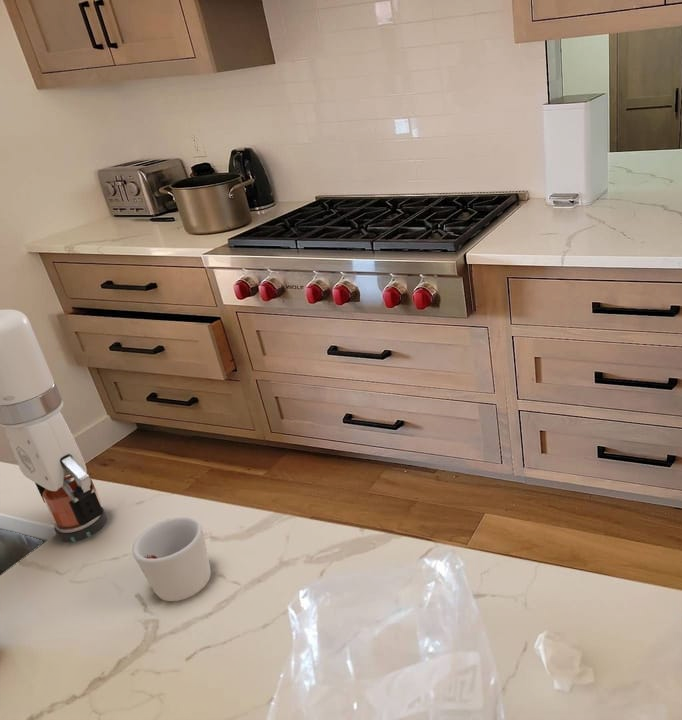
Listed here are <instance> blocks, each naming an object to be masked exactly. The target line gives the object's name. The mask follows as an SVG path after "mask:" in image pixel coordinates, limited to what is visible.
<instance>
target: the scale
mask: <svg viewBox="0 0 682 720" xmlns="http://www.w3.org/2000/svg"><path fill="white" fill-rule="evenodd" d="M101 508H102V510H103V513H102V514H101V515H100V516H98V517H97V518H95V519H93V520H92V521H90V522H88V523H86V524H85V525H83V526H82V525H77V526H73V527H64V526H60V525H57V524H56V523H55V522H54V532H55V534H56V536H57V537H58V539H59V540H60V541H61V542H64V543H75V542H79V541H83V540H85V539H87V538H90V537H92V536H94V535H95V534H97V533H98V532H100V530H102V529H103V527H105V526H106V524H107V522H108V516H107V514H106V512H105V508H103V506H101Z"/></svg>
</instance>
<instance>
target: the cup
mask: <svg viewBox="0 0 682 720" xmlns="http://www.w3.org/2000/svg"><path fill="white" fill-rule="evenodd" d="M132 555H133V558H134V560H135V562H136V563H137V565H138V566H139V568H140V571H141V572H142V573H143V575H144V577H145V578H146V580H147V582H148V583H149V585H150V587H151V589H152V590H153V592H154V593H155V594H156V596H157V597H158V598H159V599H161V600H162V601H165V602H179V601H183V600H186V599H188V598H190V597H192V596H194V595H196V594H197V593H199V592H200V591H201V590H203V588H204V587H205V586H207V584H208V583H209V581H210V578H211V563H210V560H209V554H208V549H207V545H206V541H205V535H204V530H203V526H202V525H201V523H200V522H199V521H198V520H196V519H195V518H192V517H187V516H182V517H181V516H177V517H171V518H168V519H164V520H162V521H160V522H157V523H156V524H154V525H153V524H152V526H150V527H148V528H147V529H146V530H144V531H143V532H142V533H141V534H140V535H139V536H138V537H137V538H136V540H135V542H134V544H133V546H132Z"/></svg>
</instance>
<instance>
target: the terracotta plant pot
mask: <svg viewBox="0 0 682 720" xmlns="http://www.w3.org/2000/svg"><path fill="white" fill-rule="evenodd" d="M71 477H72V476H71V475H70V474H69V475H67V476H66V477H64V481H65V480H67V479H69V478H71ZM90 480H91V482H92V484H93V488H94V490H95V494H96V496H97V498H98V501H99V503H100V506H101V507H102V501H101V499H100V496H99V493H98V492H97V489H96V487H95V484H94V482H93V479H92V477H90ZM69 486H70V487H71V489H72V490H73V491H75V488H76V487H77V486H78V485H77V483H76V482H74V483H72V484H70V485H69ZM42 497H43V499H44V501H45V503H44V504H45V505H46V507H47V509H48V511H49V514H50V515H51V518H52V520H53V522H54V524H55V523H56V524H57V525H60V526H64V527H73V526H77V525H80V524H78V522H77V519H76V517H75V515H74V513H73V510H72V508H71V506H70V504H69V502H70V501H71V499H70V498H69V496H68V495H67V494H66V492H65V491H64V490H63V488H62V487H61V488H59V489H58V490H57V491H50V490H47V489H45V490H44V491H43V495H42ZM42 497H41V498H42ZM43 499H42V500H43ZM44 501H43V502H44Z"/></svg>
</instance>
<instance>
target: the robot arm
mask: <svg viewBox="0 0 682 720" xmlns="http://www.w3.org/2000/svg"><path fill="white" fill-rule="evenodd" d="M36 336H37V335H36V334H35V331H34V329H33V327H32V324H31V322H30V319H29V318H28V317H27V315H26V314H24V312H22V311H20V310H17V309H11V308H10V309H0V427H1V428H3V429H4V430H3V431H4V433H5V436H6V438H7V441H8V443H9V446H10V448H11V451H12V453H13V455H14V458H15V461H16V463H17V465H18V468H19V471H20V472H21V473H22V474H23V476H25V477H26V478H27V479H29V480H30V481H32V482H34V484H35V486H36V488H37V491H38V493H39V494H40V497H41V499H42V501H43V503H44V504H46V503H45V501H44V499H43V497H42V495H43V491H44V490H45V489H47V490H50V491H57V490H58V489H59V488H61V487H62V488H63V490H64V491H65V492H66V494H67V495H68V496H69V498H70V499H71V501H70V502H69V504H70V506H71V508H72V510H73V513H74V515H75V517H76V519H77V522H78V524H80V525H82V526H83V525H85V524H86V523H88V522H90V521H92V520H93V519H95V518H97V517H98V516H100V515H101V514H102V513H103V510H102V508H103V507H102V505H101V506H100V503H99V501H98V498H97V496H96V494H95V490H94V488H93V484H94V483H93V484H92V482H93V481H92V482H91V480H92V479H91V480H90V475H89V473H88V469H87V465H86V463H85V460H84V457H83V455H82V452H81V450H80V448H79V445H78V443H77V442H76V439H75V437H74V435H73V433H72V431H71V430H70V428H69V425H68V423H67V422H66V420H65V418H64V416H63V414H62V412H61V410H62V408H63V407H64V401H63V399H62V396H61V394H60V392H59V389H58V386H57V384H56V382H55V380H54V377H53V374H52V372H51V370H50V368H49V365H48V363H47V360H46V358H45V355H44V353H43V351H42V347H41V346H40V343H39V341H38V339H37V337H36ZM69 475H71V476H72V477H71V478H69V479H67V480H65V481H64V477H66V476H69ZM74 482H76V483H77V485H78V486H77V487H76V488H75V491H73V490H72V489H71V487H70V486H69V485H70V484H72V483H74ZM101 507H102V508H101Z"/></svg>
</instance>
